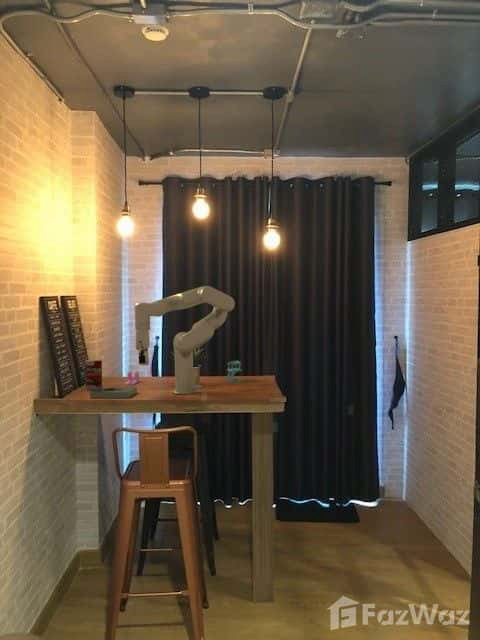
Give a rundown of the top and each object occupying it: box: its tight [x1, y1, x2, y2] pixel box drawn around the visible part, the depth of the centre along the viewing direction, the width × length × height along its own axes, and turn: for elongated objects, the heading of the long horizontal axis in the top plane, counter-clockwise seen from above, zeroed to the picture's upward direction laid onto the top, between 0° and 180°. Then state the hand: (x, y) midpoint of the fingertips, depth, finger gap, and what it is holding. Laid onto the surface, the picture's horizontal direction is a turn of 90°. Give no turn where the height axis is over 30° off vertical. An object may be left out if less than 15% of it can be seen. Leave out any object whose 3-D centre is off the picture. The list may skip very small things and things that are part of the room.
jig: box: [89, 386, 138, 399], centre depth 265 cm, size 20×14×3 cm
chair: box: [226, 360, 244, 383], centre depth 302 cm, size 8×8×12 cm
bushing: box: [137, 350, 150, 366], centre depth 262 cm, size 5×5×7 cm
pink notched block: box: [124, 370, 140, 387], centre depth 297 cm, size 13×6×7 cm, turn 178°
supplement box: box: [85, 359, 103, 391], centre depth 283 cm, size 9×5×16 cm, turn 105°
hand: (143, 362), depth 262 cm, fingers closed on bushing, 5 cm apart
